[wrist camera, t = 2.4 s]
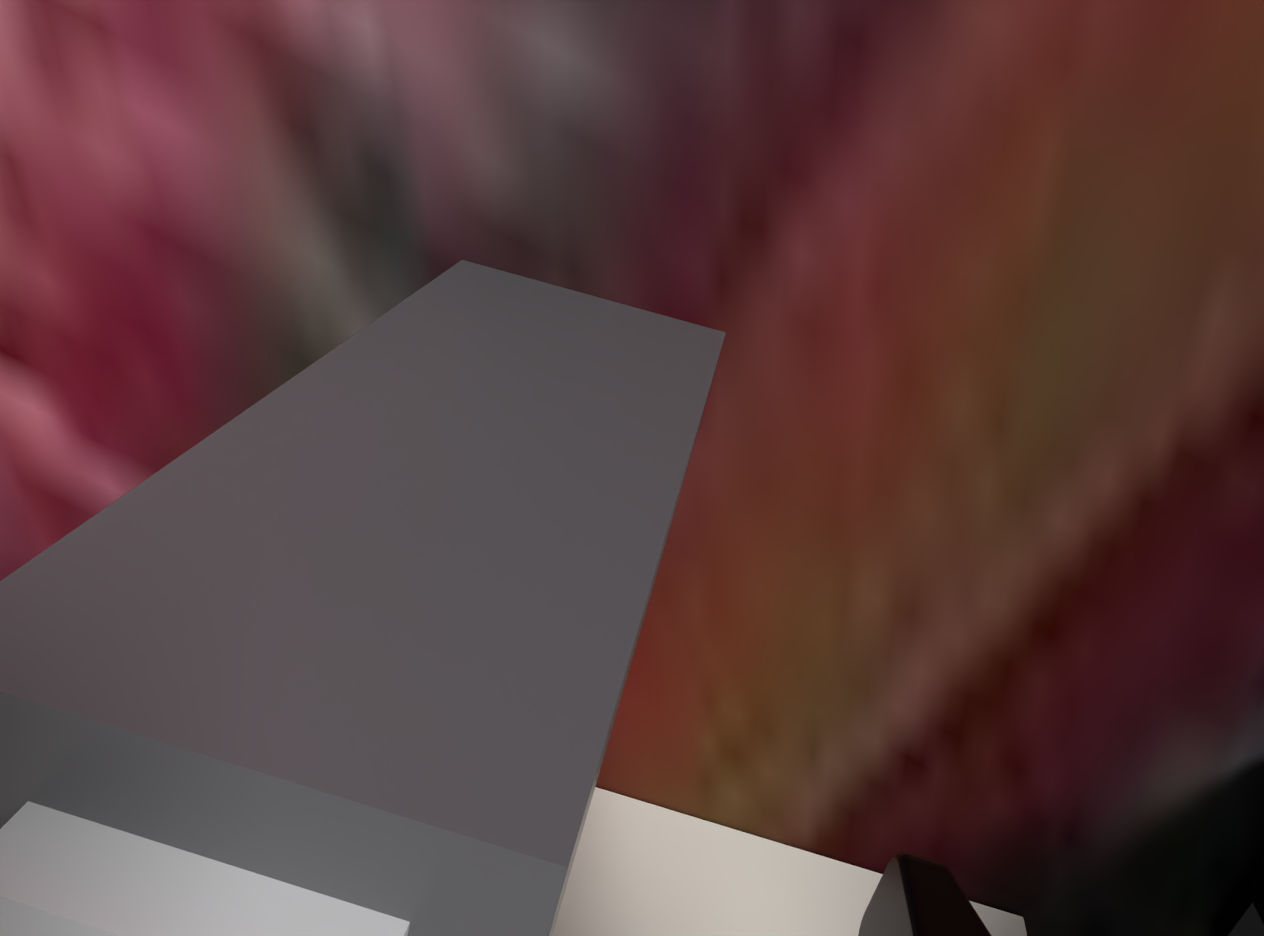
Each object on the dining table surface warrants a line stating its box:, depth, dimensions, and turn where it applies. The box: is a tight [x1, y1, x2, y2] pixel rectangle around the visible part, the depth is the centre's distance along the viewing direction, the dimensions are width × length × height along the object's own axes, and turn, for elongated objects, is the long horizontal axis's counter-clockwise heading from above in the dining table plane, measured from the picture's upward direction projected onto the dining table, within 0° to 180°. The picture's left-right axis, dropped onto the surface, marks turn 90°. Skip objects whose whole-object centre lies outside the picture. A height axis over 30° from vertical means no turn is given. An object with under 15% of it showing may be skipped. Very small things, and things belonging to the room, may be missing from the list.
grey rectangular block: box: [0, 260, 726, 936], centre depth 11 cm, size 4×4×11 cm
